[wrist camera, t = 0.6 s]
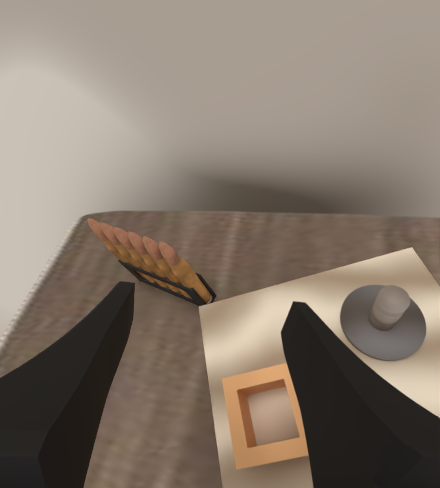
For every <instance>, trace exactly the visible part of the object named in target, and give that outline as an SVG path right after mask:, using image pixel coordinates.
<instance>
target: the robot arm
mask: <svg viewBox="0 0 440 488" xmlns="http://www.w3.org/2000/svg"><path fill="white" fill-rule="evenodd" d="M134 290H135V283H130V282H121V281H120V282H119V283H117V285H116V286H115V287H114V288H113V289H112V290H111V292H110V293H109V294H108V295H107V296H106V297H105V298H104V299H103V300H102V301H101V302H100V303H99V304H98V305H97V306H96V307H95V308H94V309H93V310H92V311H91V312H90V313H89V314H88V315H87V316H86V317H85V318H84V319H83V320H81V321H80V322H79V323H78V324H77V325H76V326H75V327H74V328H72V329H71V330H70V331H69V332H68V333H66V334H65V335H64V336H63V337H61V338H60V339H59V340H57V341H56V342H55V343H53V344H52V345H51V346H49V347H48V348H47V349H45V350H44V351H42V352H41V353H39V354H38V355H37V356H35V357H34V358H32V359H31V360H29V361H28V362H26V363H25V364H23V365H21V366H20V367H18V368H16V369H15V370H13V371H11V372H10V373H8V374H6V375H5V376H3V377H1V378H0V488H83V487H84V482H85V478H86V474H87V470H88V466H89V462H90V458H91V454H92V451H93V447H94V443H95V439H96V435H97V431H98V428H99V424H100V420H101V416H102V413H103V409H104V405H105V402H106V398H107V395H108V392H109V389H110V386H111V384H112V381H113V378H114V376H115V373H116V370H117V368H118V365H119V362H120V360H121V357H122V354H123V352H124V349H125V346H126V343H127V341H128V337H129V333H130V329H131V325H132V321H133V313H134ZM281 339H282V345H283V351H284V356H285V359H286V363H287V366H288V370H289V373H290V376H291V380H292V383H293V386H294V390H295V393H296V396H297V400H298V403H299V407H300V411H301V416H302V421H303V426H304V432H305V437H306V443H307V449H308V455H309V461H310V468H311V475H312V481H313V488H440V418H439V417H438V416H436V415H435V414H433V413H431V412H430V411H428V410H427V409H425V408H424V407H422V406H421V405H419V404H418V403H416V402H415V401H413V400H412V399H410V398H409V397H408V396H406V395H405V394H403V393H402V392H401V391H399V390H398V389H397V388H395V387H394V386H393V385H391V384H390V383H389V382H387V381H386V380H385V379H383V378H382V377H381V376H380V375H378V374H377V373H376V372H375V371H374V370H373V369H371V368H370V367H369V366H368V365H367V364H365V363H364V362H363V361H362V360H361V359H360V358H359V357H358V356H357V355H356V354H355V353H354V352H353V351H351V350H350V349H349V348H348V347H347V346H346V345H345V344H344V343H343V342H342V341H341V340H340V339H339V338H338V337H337V336H336V335H335V333H334V332H333V331H332V330H331V329H330V328H329V327H328V326H327V325H326V324H325V323H324V322H323V321H322V319H321V318H320V317H319V316H318V315H317V314H316V313H315V312H314V311H313V310H312V309H311V308H310V306H309V305H308V304H307V303H305V302H296V301H293V303H292V305H291V308H290V310H289V313H288V315H287V318H286V320H285V323H284V325H283V328H282V330H281Z"/></svg>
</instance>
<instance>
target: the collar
mask: <svg viewBox="0 0 440 488" xmlns="http://www.w3.org/2000/svg"><path fill="white" fill-rule="evenodd" d="M222 383H223V390H224V396H225V402H226V408H227V415H228V421H229V427H230V434H231V440H232V446H233V452H234V459H235V465H236V470H238V469H243V468H248V467H253V466H258V465H263V464H268V463H273V462H278V461H283V460H288V459H293V458H298V457H303V456H307V455H308V449H307V443H306V437H305V432H304V426H303V421H302V416H301V411H300V407H299V403H298V400H297V396H296V393H295V390H294V386H293V383H292V380H291V376H290V373H289V370H288V366H287V363H284V364H280V365H276V366H271V367H267V368H263V369H259V370H255V371H251V372H247V373H243V374H239V375H234V376H230V377H226V378H222ZM281 387H286V388H287V392H288V396H289V399H290V403H291V406H292V410H293V414H294V417H295V421H296V424H297V428H298V432H299V435H300V437H298V438H293V439H289V440H284V441H279V442H274V443H270V444H265V445H260V446H257V444H256V439H255V434H254V429H253V424H252V419H251V414H250V409H249V404H248V399H247V395H251V394H256V393H260V392H264V391H268V390H273V389H277V388H281Z"/></svg>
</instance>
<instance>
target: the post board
mask: <svg viewBox="0 0 440 488" xmlns="http://www.w3.org/2000/svg"><path fill="white" fill-rule="evenodd" d="M293 301H296V302H305V303H307V304H308V305H309V306H310V308H311V309H312V310H313V311H314V312H315V313H316V314H317V315H318V316H319V317H320V318H321V319H322V321H323V322H324V323H325V324H326V325H327V326H328V327H329V328H330V329H331V330H332V331H333V332H334V333H335V335H336V336H337V337H338V338H339V339H340V340H341V341H342V342H343V343H344V344H345V345H346V346H347V347H348V348H349V349H350V350H351V351H353V352H354V353H355V354H356V355H357V356H358V357H359V358H360V359H361V360H362V361H363V362H364V363H365V364H367V365H368V366H369V367H370V368H371V369H373V370H374V371H375V372H376V373H377V374H378V375H380V376H381V377H382V378H383V379H385V380H386V381H387V382H389V383H390V384H391V385H393V386H394V387H395V388H397V389H398V390H399V391H401V392H402V393H403V394H405V395H406V396H408V397H409V398H410V399H412V400H413V401H415V402H416V403H418V404H419V405H421V406H422V407H424V408H425V409H427V410H428V411H430V412H431V413H433V414H435V415H436V416H438V417H439V418H440V287H439V285H438V284H437V282H436V281H435V280H434V278H433V277H432V275H431V274H430V272H429V271H428V270H427V268H426V267H425V265H424V264H423V262H422V261H421V260H420V258H419V257H418V255H417V254H416V252H415V251H414V250H413V248H412V247H411V248H408V249H404V250H401V251H397V252H393V253H390V254H386V255H383V256H379V257H375V258H372V259H368V260H365V261H361V262H358V263H354V264H350V265H347V266H343V267H340V268H336V269H332V270H329V271H325V272H322V273H318V274H314V275H311V276H307V277H304V278H300V279H296V280H293V281H289V282H286V283H282V284H278V285H275V286H271V287H268V288H264V289H260V290H257V291H253V292H250V293H246V294H242V295H239V296H235V297H232V298H228V299H224V300H221V301H217V302H214V303H210V304H206V305H203V306H199V313H200V320H201V328H202V335H203V343H204V350H205V358H206V365H207V373H208V380H209V388H210V395H211V403H212V410H213V418H214V425H215V433H216V440H217V448H218V455H219V463H220V470H221V478H222V485H223V488H313V481H312V475H311V468H310V461H309V455H307V456H303V457H298V458H293V459H288V460H283V461H278V462H273V463H268V464H263V465H258V466H253V467H248V468H243V469H238V470H236V465H235V459H234V452H233V446H232V440H231V434H230V427H229V421H228V415H227V408H226V402H225V396H224V390H223V383H222V378H226V377H230V376H234V375H239V374H243V373H247V372H251V371H255V370H259V369H263V368H267V367H271V366H276V365H280V364H284V363H286V359H285V356H284V351H283V345H282V339H281V330H282V328H283V325H284V323H285V320H286V318H287V315H288V313H289V310H290V308H291V305H292V303H293ZM247 399H248V404H249V409H250V414H251V419H252V424H253V429H254V434H255V439H256V444H257V446H260V445H265V444H270V443H274V442H279V441H284V440H289V439H293V438H298V437H300V435H299V432H298V428H297V424H296V421H295V417H294V414H293V410H292V406H291V403H290V399H289V396H288V392H287V388H286V387H281V388H277V389H273V390H268V391H264V392H260V393H256V394H251V395H247Z"/></svg>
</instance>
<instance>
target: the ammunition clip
mask: <svg viewBox="0 0 440 488" xmlns="http://www.w3.org/2000/svg"><path fill="white" fill-rule="evenodd" d="M88 223H89V226H90V227H91V229H92V230H93V232H94V233H95V234H96V235H97V236H98V237H99V238H100V239H101V240H102V241H103V242H104V244H105V245H106V246H107V248H108V249H109V250H110V251H111V252H112V253H113V254H114V255H115V256H116V257H118V258H119V262H120V263H121V264H122V265H123V266H124V267H125V268H126V269H128V270H129V271H130V272H131V273H132V274H133V275H134V276H135V277H136V278H137V279H138V280H140V281H142V282H145V283H147V284H149V285H152V286H154V287H156V288H159V289H161V290H164V291H166V292H168V293H171V294H173V295H175V296H178V297H180V298H182V299H185V300H187V301H189V302H192V303H194V304H197V305H199V306H203V305H206V304H210V303H212V302H213V300H214V298H215V296H216V295H215V293H214V292H213V291H212V289H211V288H210V287H209V285H208V284H207V283H206V281H205V280H204V279H203V278H202V276H201V275H200V274H197V273H195V272H194V271H193V269H192V268H191V267H190V265H189V264H188V263H187V262H186V261H185V260H183V259H182V258H181V257H180V256H179V255H178V253H177V252H176V251H175V250H174V249H173V248H172V247H171V246H169V245H168V244H166V243H164V242H159V244H157V243H156V242H155V241H154V240H152V239H150V238H148V237H143V238H141V237H140V236H139V235H137V234H135V233H133V232H128V233H127V232H126V231H124V230H122V229H120V228H118V227H114V228H113V227H111V226H110V225H108V224H105V223H99V222H97V221H95V220H93V219H90V218H88Z"/></svg>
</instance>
